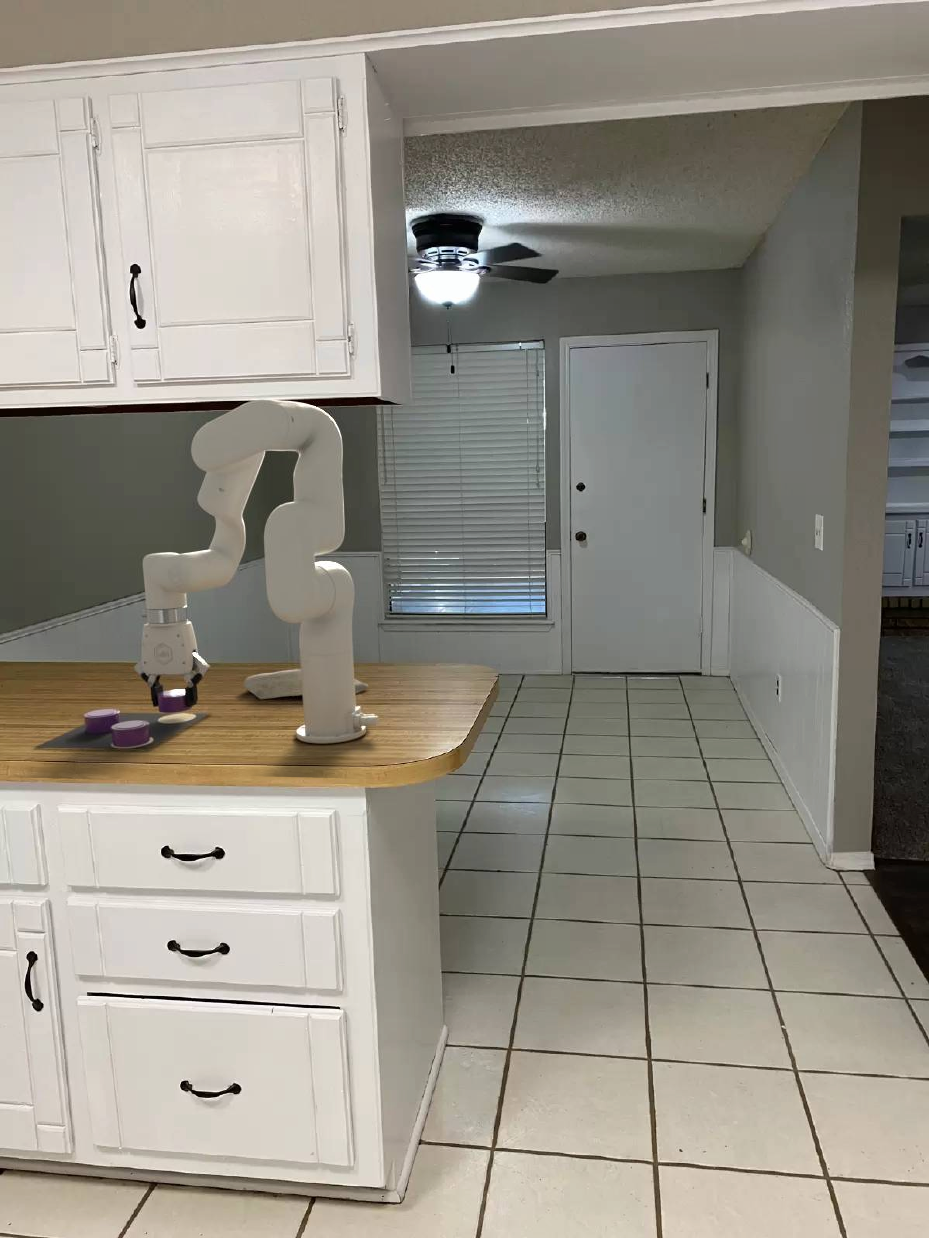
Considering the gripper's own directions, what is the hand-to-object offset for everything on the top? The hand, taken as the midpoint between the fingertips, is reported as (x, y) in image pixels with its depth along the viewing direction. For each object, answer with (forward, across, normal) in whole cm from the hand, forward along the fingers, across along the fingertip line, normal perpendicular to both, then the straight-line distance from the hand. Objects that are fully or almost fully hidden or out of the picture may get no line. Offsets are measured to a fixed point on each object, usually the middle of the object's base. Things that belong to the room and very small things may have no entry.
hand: (175, 704), depth 179 cm
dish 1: (+3, -11, -8) cm, 14 cm away
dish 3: (+1, 0, 0) cm, 1 cm away
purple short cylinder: (+3, 0, -16) cm, 17 cm away
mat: (+3, -6, -8) cm, 11 cm away
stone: (+3, +17, +24) cm, 30 cm away
